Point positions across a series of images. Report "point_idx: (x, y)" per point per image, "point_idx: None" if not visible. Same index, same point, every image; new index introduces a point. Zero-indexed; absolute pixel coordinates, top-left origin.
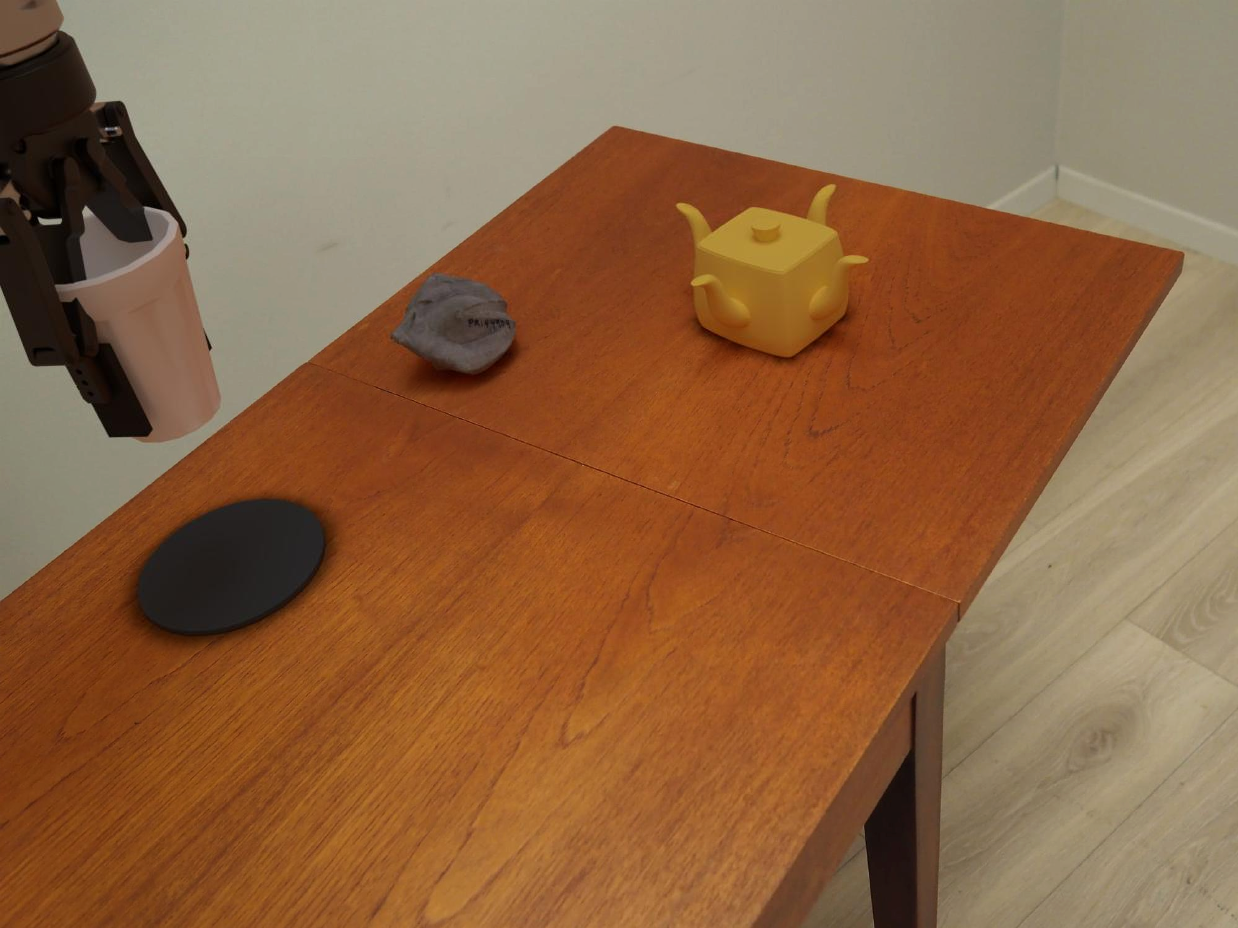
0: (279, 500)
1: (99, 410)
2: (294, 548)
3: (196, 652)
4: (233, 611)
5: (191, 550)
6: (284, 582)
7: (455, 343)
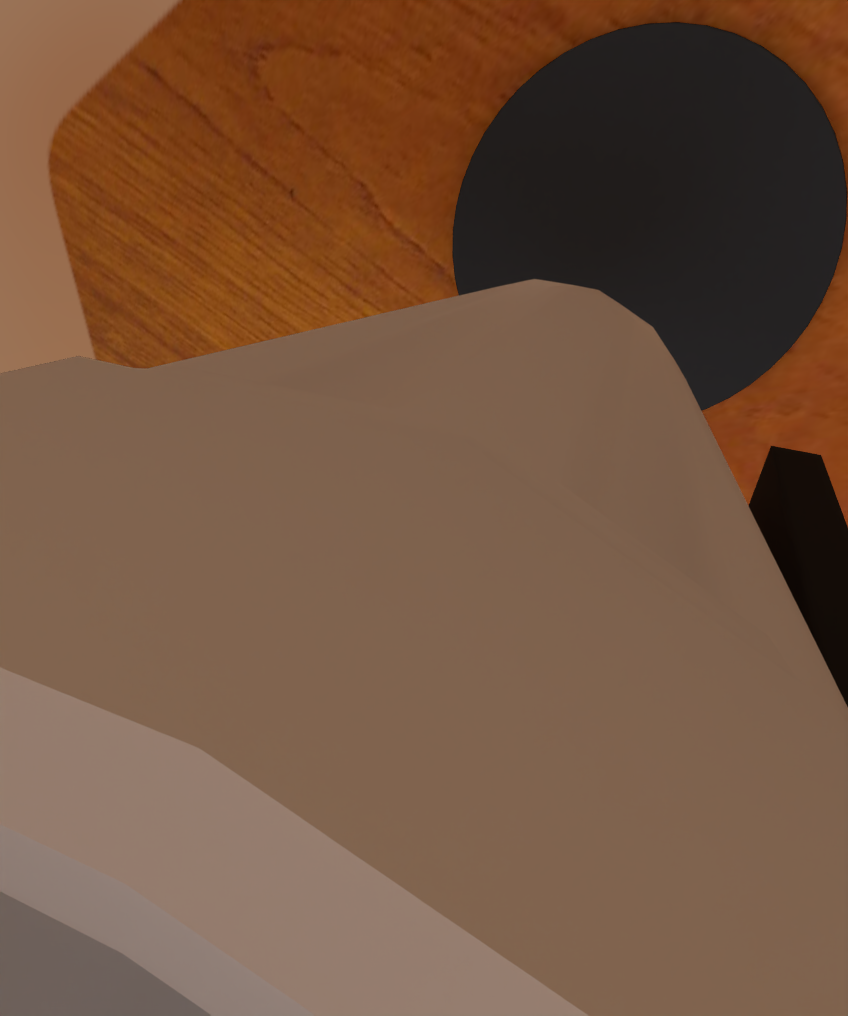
0: (812, 311)
1: None
2: None
3: (421, 246)
4: None
5: (686, 139)
6: None
7: None
